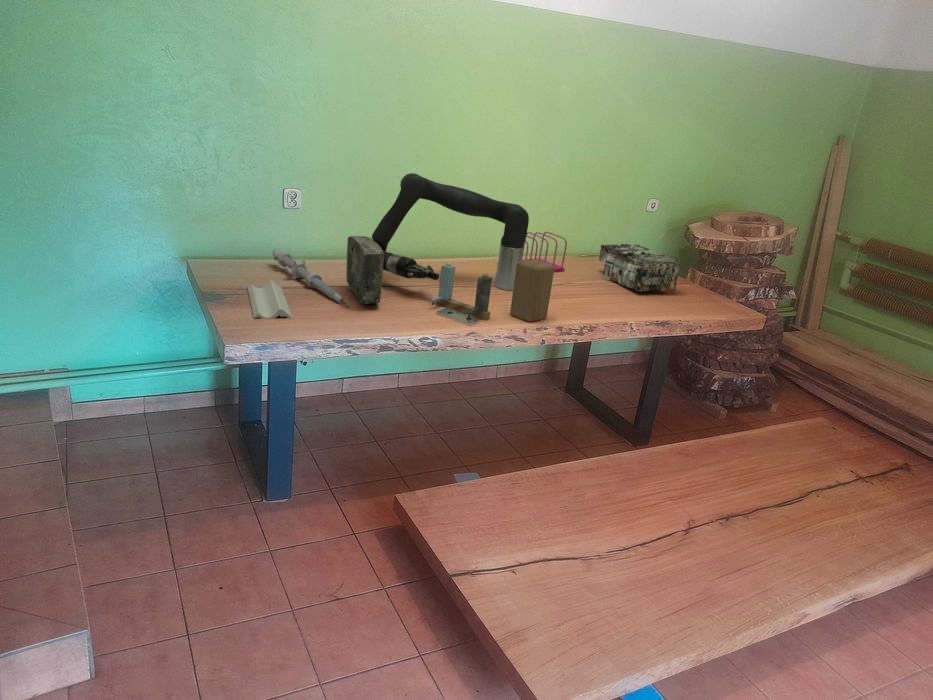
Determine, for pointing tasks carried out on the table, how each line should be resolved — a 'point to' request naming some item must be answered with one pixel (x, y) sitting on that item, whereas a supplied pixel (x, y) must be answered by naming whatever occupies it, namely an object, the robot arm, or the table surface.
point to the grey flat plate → (458, 316)
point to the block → (532, 290)
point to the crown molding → (268, 301)
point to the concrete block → (365, 268)
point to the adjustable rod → (306, 275)
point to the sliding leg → (445, 282)
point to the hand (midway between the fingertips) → (437, 277)
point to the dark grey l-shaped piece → (480, 300)
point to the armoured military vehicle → (639, 268)
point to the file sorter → (557, 268)
